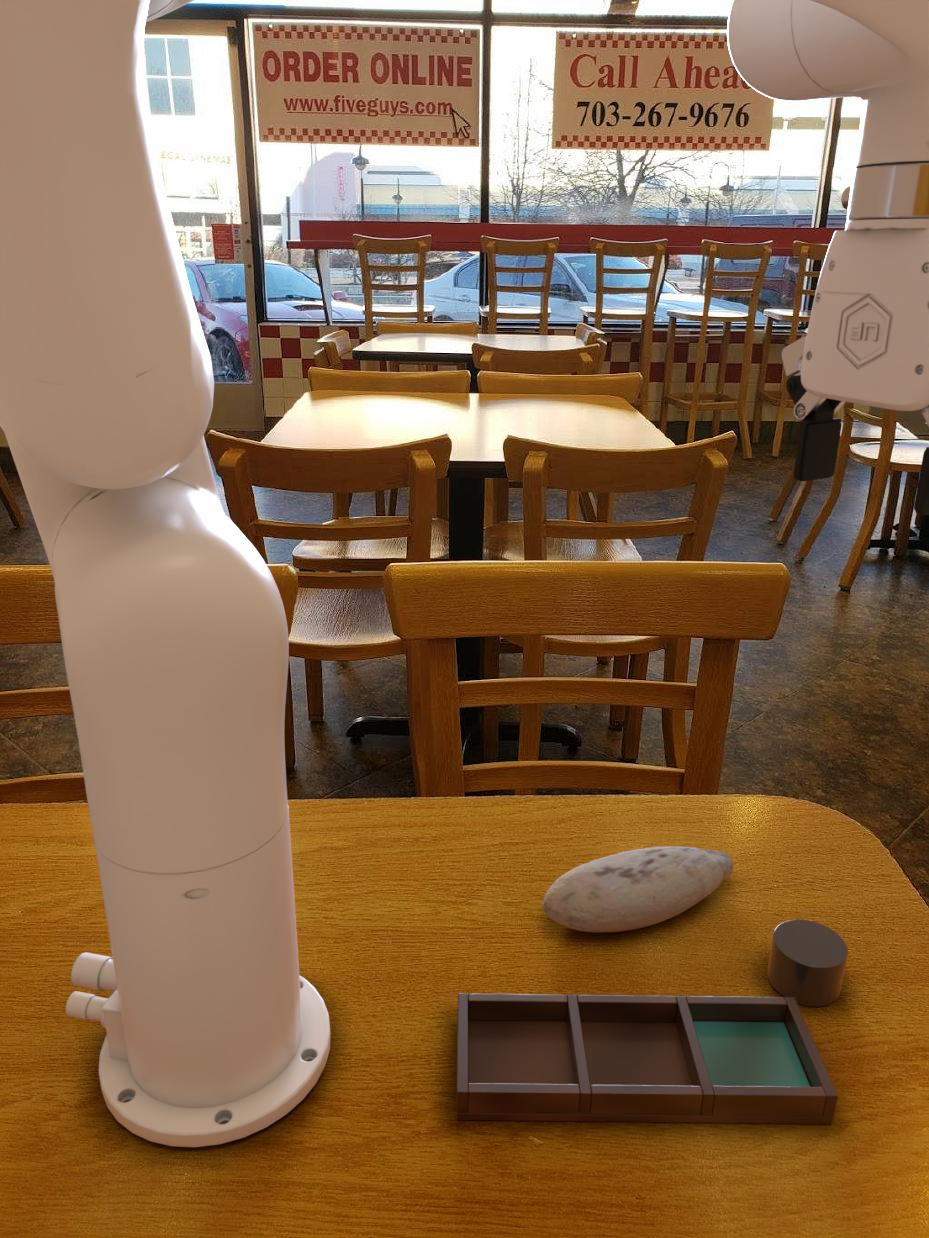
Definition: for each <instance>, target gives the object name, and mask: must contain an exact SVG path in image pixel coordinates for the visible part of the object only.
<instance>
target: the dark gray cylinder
mask: <svg viewBox="0 0 929 1238" xmlns="http://www.w3.org/2000/svg"><path fill="white" fill-rule="evenodd" d="M771 938H772V939H771V947H770V952H769V958H768V964H767V970H766V976H767V980H768V983H769V984H770V986H771V987H772V988H773V989H774V990H775V991H776V992H777V994H779V995H780V996H781V997H784V998H785V997H794V998H795V1000H796V1002H797V1004H798V1005H801V1006H804V1007H813V1008H815V1007H816V1008H817V1007H818V1008H819V1007H826V1006H829V1005H832V1004H833V1003H835V1002H836V1001H837V1000H838V999H839V997H840V995H841V991H842V986H843V981H844V977H845V971H846V966H847V961H848V956H849V949H848V945H847V944H846V941H845V940H844V938H842V936H841V935H840V934H838V933H837V932H836V931H835V930H833V929H831V928H830V927H828V926H826V925H824V924H822V923H819V922H817V921H813V920H808V919H789V920H785V921H783V922H781V923H779V924H778V925H776V927H774V930H773V934H772V937H771Z"/></svg>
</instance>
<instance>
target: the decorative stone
mask: <svg viewBox="0 0 929 1238" xmlns="http://www.w3.org/2000/svg"><path fill="white" fill-rule="evenodd" d="M733 871H734V860H733V858H732V856H730V854H728V853H726V852H724V851H721V850H714V849H703V848H700V847H689V846H680V845H679V846H674V845H673V846H671V845H670V846H668V845H667V846H653V847H645V848H636V849H631V850H625V851H620V852H618V853H615V854H610V855H607V856H604V857H603V856H602V857H599V858H597V859H593V860H590V861H589V862H586V863H582V864H580V865H578V866H576V867H574V868H571V869H570V870H568V871H567V872H566V873H565V872H564V874H562V875H561V876H559V877H558V878H557V879H555V881H553V882H552V885H550V887H549V888H548V889H547V891H546V893H545V895H544V897H543V899H542V906H541V907H542V909H543V911H544V913H545V914H546V916H548V917H549V918H550V919H551V920H553V921H554V922H555V923H557V924H559V925H561V926H563V927H566V928H569V929H571V930H574V931H578V932H585V933H617V932H625V931H633V930H638V929H642V928H645V927H650V926H653V925H657V924H659V923H662V922H664V921H667V920H669V919H672V918H674V917H677V916H678V915H680V914H682V913H684V912H685V911H687V910H689V909H691V908H692V907H693V906H696V905H697V904H698V903H700V902H701V901H703V900H704V899H705V898H707V896H709V895H710V894H712V893H713V892H715V891H716V890H717V888H719V887H720V885H721V883H723V882H724V881H725V880H727V879H728V878H729V877H730V876H731V875H732V874H733Z"/></svg>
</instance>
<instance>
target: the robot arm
mask: <svg viewBox="0 0 929 1238" xmlns="http://www.w3.org/2000/svg"><path fill="white" fill-rule="evenodd" d="M193 1H195V0H0V428H1V430H2V431H3V433H4V436H5V438H6V442H7V444H8V447H9V450H10V453H11V456H12V459H13V462H14V465H15V468H16V470H17V473H18V476H19V479H20V482H21V485H22V488H23V491H24V494H25V497H26V500H27V502H28V505H29V508H30V511H31V513H32V516H33V519H34V523H35V525H36V528H37V531H38V534H39V536H40V539H41V542H42V545H43V548H44V551H45V554H46V557H47V560H48V564H49V567H50V570H51V574H52V578H53V581H54V596H55V597H54V600H55V605H56V611H57V618H58V624H59V631H60V639H61V647H62V653H63V654H62V655H63V660H64V667H65V672H66V679H67V684H68V689H69V694H70V701H71V705H72V711H73V718H74V723H75V728H76V735H77V741H78V747H79V755H80V760H81V768H82V773H83V780H84V787H85V793H86V801H87V807H88V814H89V820H90V826H91V832H92V839H93V842H94V847H95V854H96V859H97V867H98V872H99V879H100V885H101V892H102V899H103V906H104V911H105V919H106V925H107V932H108V938H109V944H110V950H111V951H110V952H111V956H109V955H103V954H98V953H92V952H86V951H85V952H81V953H80V954H79V955H78V956H77V957H76V959H75V961H74V963H73V964H72V968H71V972H70V982H71V984H72V986H74V987H77V988H78V987H79V988H84V989H89V990H94V991H100V992H105V991H108V992H113V993H112V994H111V995H110V996H109V997H104V996H99V995H98V994H96V993H95V994H94V993H89V992H85V991H79V990H75V991H73V992H72V993H70V995H69V997H68V999H67V1001H66V1005H65V1014H66V1016H67V1017H69V1018H70V1017H71V1018H74V1019H75V1018H76V1019H80V1020H84V1021H85V1020H86V1021H97V1022H100V1024H101V1027H103V1028H104V1029H105V1032H106V1034H105V1037H104V1040H103V1043H102V1046H101V1049H100V1052H99V1059H98V1060H99V1061H98V1078H99V1084H100V1090H101V1094H102V1097H103V1099H104V1102H105V1105H106V1108H107V1110H109V1112H110V1113H111V1114H112V1116H113V1117H114V1119H115V1120H116V1121H117V1122H118V1123H119V1124H120V1125H121V1126H123V1127H124V1128H125V1129H126V1130H128V1131H129V1132H130V1133H132V1134H133V1135H135V1136H138V1137H140V1138H142V1139H144V1140H147V1141H149V1142H152V1143H156V1144H160V1145H164V1146H169V1147H178V1148H179V1147H180V1148H203V1147H209V1146H218V1145H222V1144H226V1143H230V1142H233V1141H238V1140H240V1139H244V1138H246V1137H248V1136H251V1135H253V1134H255V1133H257V1132H259V1131H261V1130H264V1129H267V1128H269V1126H271V1125H272V1124H274V1123H275V1122H277V1121H279V1120H280V1119H282V1118H283V1117H285V1116H286V1115H288V1114H289V1113H290V1112H291V1111H292V1110H293V1109H295V1108H296V1106H298V1105H299V1104H300V1103H301V1102H302V1101H303V1100H304V1099H305V1098H306V1097H307V1095H308V1094H309V1093H310V1092H311V1090H312V1089H313V1088H314V1087H315V1086H316V1084H317V1083H318V1081H319V1079H320V1077H321V1075H322V1073H323V1071H324V1070H325V1067H326V1066H327V1065H326V1064H327V1061H328V1057H329V1054H330V1050H331V1025H330V1024H331V1021H330V1013H329V1011H328V1009H327V1005H326V1003H325V1000H324V998H323V997H322V996H321V994H320V993H319V991H318V990H317V988H316V987H315V986H314V985H313V984H311V982H309V980H307V979H306V978H305V977H303V976H302V975H300V962H299V948H298V947H299V946H298V929H297V914H296V901H295V900H296V899H295V883H294V869H293V853H292V837H291V836H292V835H291V824H290V822H291V821H290V808H289V807H290V806H289V801H288V788H287V787H288V786H287V768H286V747H285V746H286V745H285V744H286V743H285V720H286V703H287V701H286V700H287V688H288V676H289V661H290V659H289V658H290V645H289V643H290V641H289V627H288V620H287V615H286V610H285V606H284V602H283V599H282V596H281V593H280V590H279V588H278V585H277V583H276V580H275V578H274V576H273V574H272V572H271V570H270V568H269V567H268V565H267V563H266V561H265V559H264V558H263V557H262V555H261V554H260V552H259V551H258V550H257V548H256V547H255V546H254V544H253V543H252V542H251V541H250V540H249V539H248V537H246V535H245V534H244V533H243V532H242V530H240V528H239V527H238V526H237V525H236V523H234V522H233V520H232V519H231V518H230V517H229V516H227V515H226V513H225V511H224V507H223V504H222V500H221V497H220V494H219V491H218V490H219V489H218V487H217V482H216V479H215V478H216V477H215V475H214V472H213V471H214V470H213V467H212V463H211V459H210V456H209V451H208V447H207V443H206V440H205V436H204V435H205V433H206V431H207V428H208V425H209V423H210V420H211V417H212V412H213V407H214V395H215V394H214V393H215V377H214V370H213V361H212V356H211V353H210V350H209V347H208V343H207V340H206V338H205V335H204V334H205V333H204V330H203V328H202V325H201V321H200V317H199V315H198V311H197V307H196V304H195V300H194V298H193V294H192V290H191V286H190V282H189V280H188V279H189V278H188V275H187V271H186V266H185V262H184V260H183V256H182V252H181V247H180V244H179V240H178V236H177V232H176V228H175V225H174V220H173V217H172V212H171V209H170V205H169V200H168V197H167V192H166V190H165V189H166V188H165V185H164V180H163V175H162V168H161V162H160V158H159V151H158V146H157V142H156V137H155V134H154V127H153V124H152V119H151V115H150V109H149V101H148V93H147V87H146V75H145V62H144V52H145V51H144V49H145V48H144V46H145V43H144V42H145V28H146V23H148V22H151V21H153V20H156V19H158V18H161V17H163V16H165V15H167V14H169V13H172V12H173V11H175V10H177V9H180V8H182V7H183V6H186V5H187V4H190V3H191V2H193ZM727 18H728V19H727V29H726V38H727V39H726V40H727V47H728V51H729V55H730V58H731V62H732V64H733V66H734V67H735V70H736V71H737V73H738V74H739V76H740V77H741V78H742V80H743V81H745V83H746V84H747V85H748V86H749V87H751V88H752V89H753V90H754V91H756V92H757V93H759V94H761V95H763V96H765V97H768V98H769V99H773V100H776V101H782V102H787V103H789V102H790V103H803V102H812V101H819V100H828V99H838V98H839V99H840V98H854V97H855V98H859V99H860V100H861V102H862V108H861V116H860V123H859V128H858V129H859V130H858V136H857V144H856V151H855V157H854V163H853V164H854V165H853V172H852V180H851V186H848V187H846V188H845V189H844V190H843V192H842V195H841V202H840V203H841V206H842V208H843V209H845V210H847V215H846V222H845V228H844V229H842V230H841V229H840V230H839V229H838V230H837V229H836V230H834V232H833V235H832V238H831V241H830V243H829V245H828V248H827V251H826V254H825V257H824V260H823V264H822V267H821V270H820V274H819V277H818V281H817V284H816V289H815V293H814V298H813V301H812V306H811V311H810V316H809V321H808V326H807V331H806V335H804V336H802V337H800V338H798V339H797V340H795V341H792V343H790V344H788V345H786V346H784V347H783V349H782V350H781V353H780V354H781V360H782V364H783V369H784V373H785V377H786V378H787V380H786V384H785V387H786V390H787V393H788V394H789V396H790V398H791V401H792V402H793V404H794V406H793V412H792V413H793V416H794V418H795V419H796V420H798V421H800V423H799V431H798V438H797V445H796V452H795V461H794V467H793V468H794V469H793V479H794V480H796V481H799V482H807V481H815V480H824V479H830V478H831V477H833V476H834V475H835V472H836V466H837V458H838V453H839V447H840V440H841V439H840V438H841V433H842V432H841V431H842V418H838V417H834V416H835V415H836V414H837V413H838V412H839V411H840V410H841V408H842V407H843V406H844V405H845V404H846V403H850V404H857V405H863V406H868V407H873V408H879V409H886V410H891V411H899V412H913V411H915V412H916V411H920V413H921V415H922V417H923V419H924V421H925V423H926V425H927V427H928V428H929V0H732V3H731V6H730V10H729V14H728V17H727ZM918 476H919V477H918V482H917V486H916V487H917V488H916V493H915V497H914V498H915V499H914V504H913V510H914V511H915V513H916V514H918V515H922V516H929V446H926V447H925V449H924V451H923V455H922V460H921V466H920V471H919V475H918Z"/></svg>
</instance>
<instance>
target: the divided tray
mask: <svg viewBox="0 0 929 1238" xmlns="http://www.w3.org/2000/svg"><path fill="white" fill-rule="evenodd" d="M456 1023H457V1025H456V1026H457V1027H456V1028H457V1030H456V1031H457V1035H456V1037H457V1039H456V1107H455V1108H456V1113H455V1114H456V1115H455V1116H456V1117H455V1119H456V1121H511V1122H514V1121H523V1122H525V1121H527V1122H601V1123H602V1122H603V1123H604V1122H605V1123H606V1122H607V1123H609V1122H611V1123H612V1122H613V1123H622V1122H623V1123H689V1124H690V1123H692V1124H693V1123H697V1124H699V1123H700V1124H702V1123H704V1124H710V1123H711V1124H781V1125H782V1124H784V1125H785V1124H786V1125H789V1124H794V1125H795V1124H796V1125H833V1122H834V1117H835V1112H836V1108H837V1103H838V1098H839V1095H838V1092H837V1090H836V1088H835V1086H834V1084H833V1082H832V1079H831V1077H830V1075H829V1072H828V1070H827V1068H826V1065H825V1063H824V1061H823V1059H822V1057H821V1054H820V1051H819V1050H818V1048H817V1045H816V1043H815V1041H814V1038H813V1037H812V1034H811V1032H810V1029H809V1027H808V1025H807V1023H806V1021H805V1018H804V1016H803V1014H802V1011H801V1009H800V1006H799V1004H797V1002H796V1000H795V998H794V997H783V996H728V995H727V996H725V995H723V996H722V995H721V996H718V995H716V996H715V995H714V996H713V995H702V996H701V995H686V996H685V995H633V994H632V995H628V994H627V995H624V994H549V993H548V994H547V993H546V994H543V993H541V994H538V993H533V994H531V993H467V992H466V993H460V992H459V993H458V994H457V1022H456Z"/></svg>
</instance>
